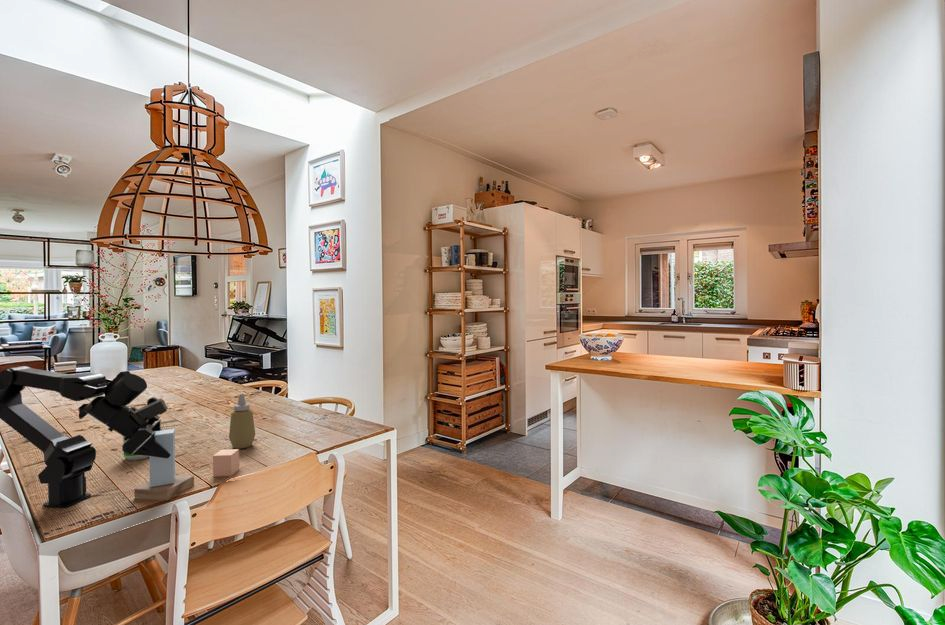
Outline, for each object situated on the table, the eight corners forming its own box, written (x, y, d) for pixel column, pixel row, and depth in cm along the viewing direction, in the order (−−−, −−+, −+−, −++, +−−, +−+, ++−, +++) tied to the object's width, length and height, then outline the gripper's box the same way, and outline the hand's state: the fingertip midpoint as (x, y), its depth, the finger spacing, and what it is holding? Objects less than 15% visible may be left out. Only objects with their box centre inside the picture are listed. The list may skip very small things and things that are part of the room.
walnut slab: (167, 502, 108) (167, 490, 108) (134, 500, 109) (134, 488, 109) (194, 486, 117) (193, 475, 117) (163, 485, 118) (163, 474, 118)
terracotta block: (231, 475, 123) (231, 455, 123) (213, 476, 123) (212, 455, 122) (239, 469, 128) (238, 449, 128) (221, 469, 127) (221, 449, 127)
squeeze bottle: (231, 444, 150) (230, 392, 150) (256, 441, 153) (256, 390, 153) (227, 451, 143) (226, 397, 142) (254, 448, 146) (253, 395, 145)
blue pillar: (149, 487, 109) (149, 435, 109) (152, 481, 113) (151, 431, 114) (173, 483, 112) (173, 432, 112) (175, 477, 116) (174, 428, 116)
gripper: (138, 397, 102) (194, 435, 108) (149, 384, 118) (197, 418, 124) (96, 435, 98) (156, 473, 104) (112, 416, 114) (164, 450, 120)
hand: (171, 451), depth 113 cm, fingers open, 9 cm apart
